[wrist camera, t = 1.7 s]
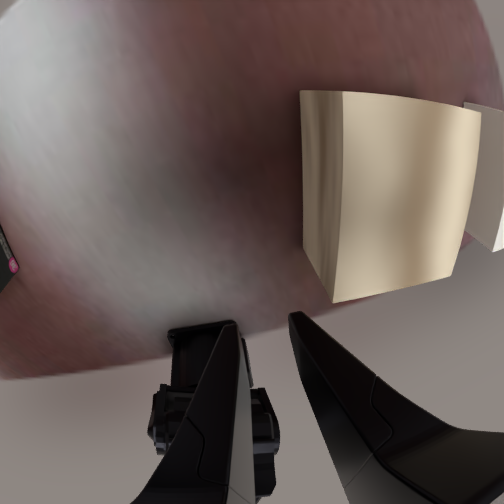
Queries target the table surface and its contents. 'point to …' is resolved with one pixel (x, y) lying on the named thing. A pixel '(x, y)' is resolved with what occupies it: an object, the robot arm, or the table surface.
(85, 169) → the table surface
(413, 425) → the robot arm
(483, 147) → the bar
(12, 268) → the tampon box
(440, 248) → the block
